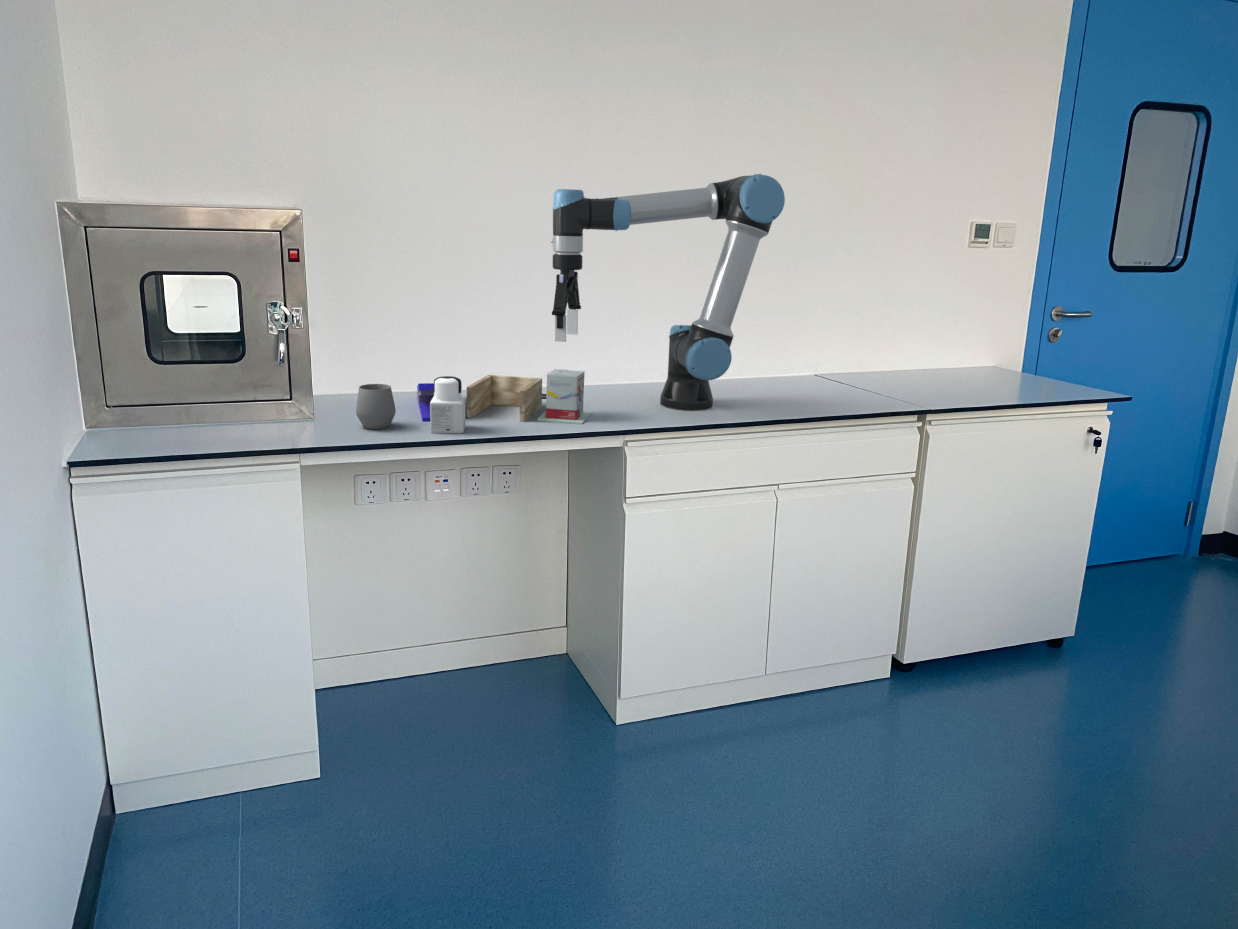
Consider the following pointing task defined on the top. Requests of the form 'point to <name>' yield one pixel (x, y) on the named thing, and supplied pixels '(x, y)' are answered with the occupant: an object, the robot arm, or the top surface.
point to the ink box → (565, 394)
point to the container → (447, 406)
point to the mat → (578, 421)
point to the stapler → (425, 399)
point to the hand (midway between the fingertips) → (566, 337)
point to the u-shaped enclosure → (505, 394)
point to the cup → (375, 406)
